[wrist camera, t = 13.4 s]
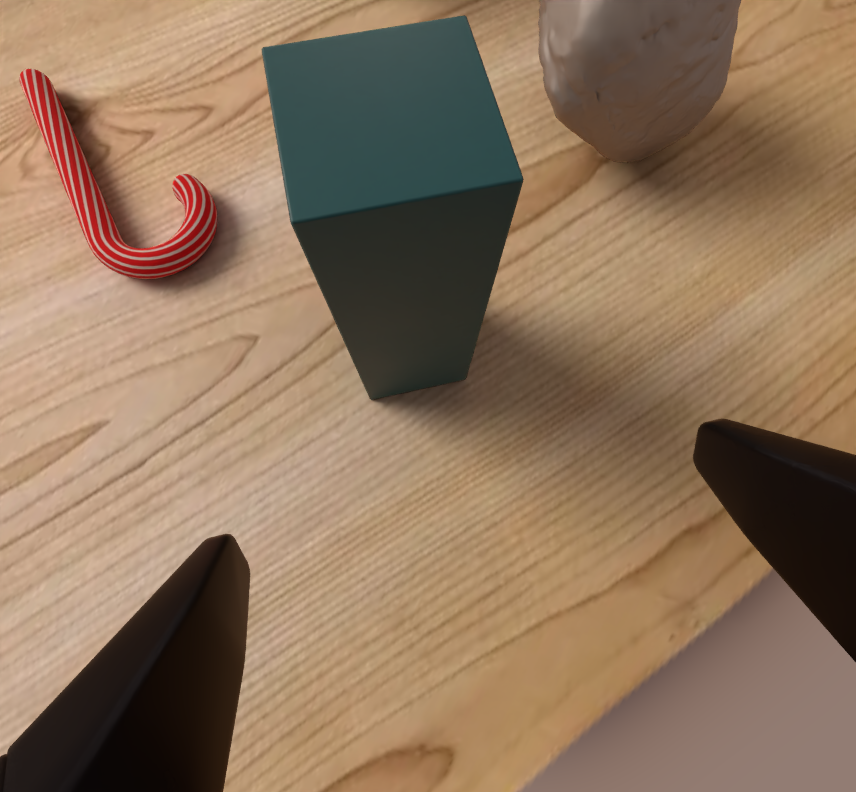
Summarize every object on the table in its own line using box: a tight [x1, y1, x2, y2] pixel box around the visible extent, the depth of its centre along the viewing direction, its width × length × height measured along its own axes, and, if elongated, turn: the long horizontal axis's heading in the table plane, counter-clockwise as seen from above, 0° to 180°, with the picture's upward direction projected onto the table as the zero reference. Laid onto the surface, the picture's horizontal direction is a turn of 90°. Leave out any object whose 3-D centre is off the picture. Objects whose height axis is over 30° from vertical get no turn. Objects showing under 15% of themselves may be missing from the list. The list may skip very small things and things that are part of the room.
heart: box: [538, 0, 741, 163], centre depth 18 cm, size 10×10×12 cm
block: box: [262, 16, 523, 400], centre depth 14 cm, size 4×4×12 cm
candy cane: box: [19, 69, 217, 279], centre depth 22 cm, size 6×15×2 cm, turn 31°
